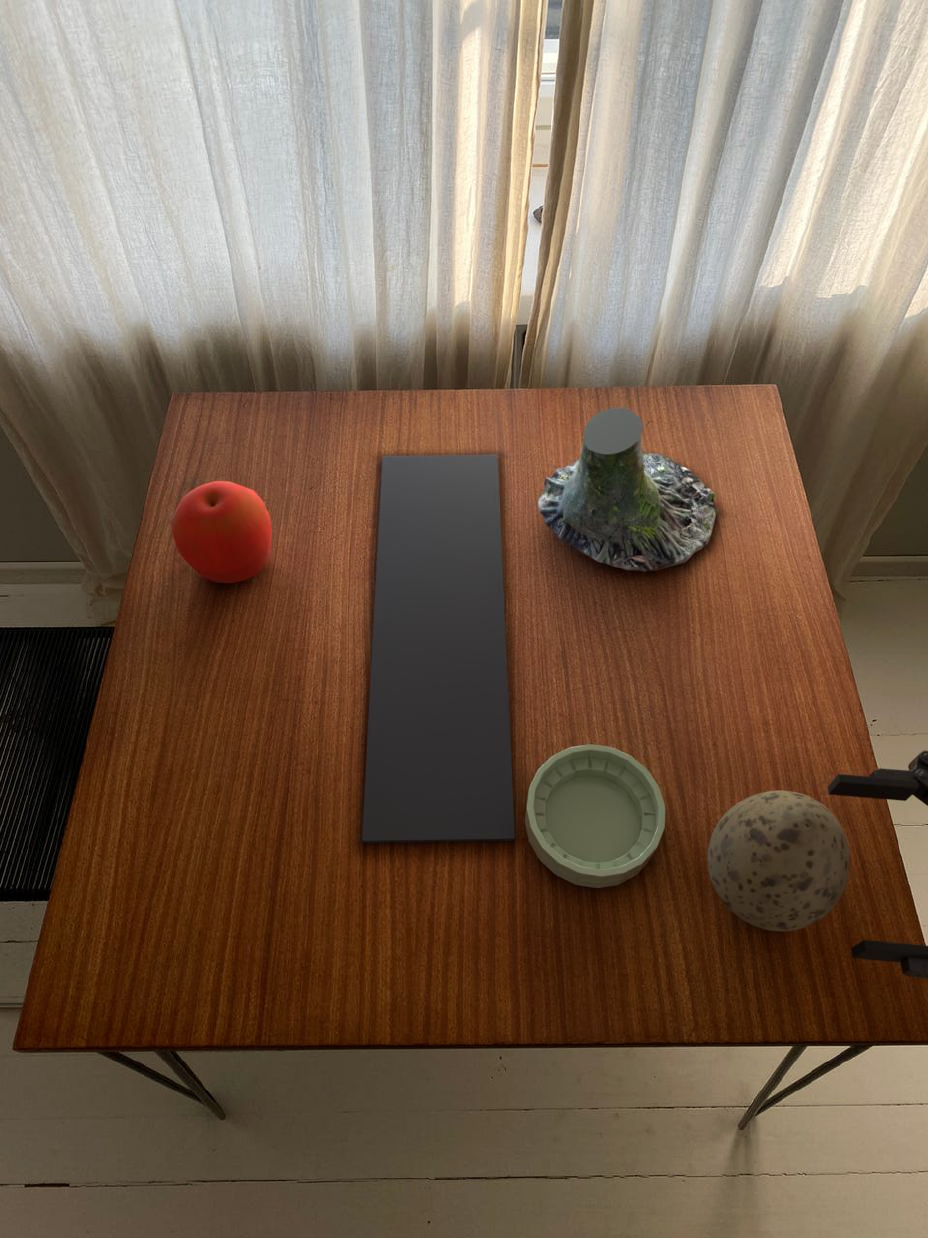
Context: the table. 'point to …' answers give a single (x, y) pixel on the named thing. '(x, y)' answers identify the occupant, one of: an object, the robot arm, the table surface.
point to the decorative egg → (779, 860)
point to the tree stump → (627, 500)
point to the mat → (439, 657)
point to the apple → (223, 531)
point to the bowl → (594, 815)
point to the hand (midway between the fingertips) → (844, 862)
